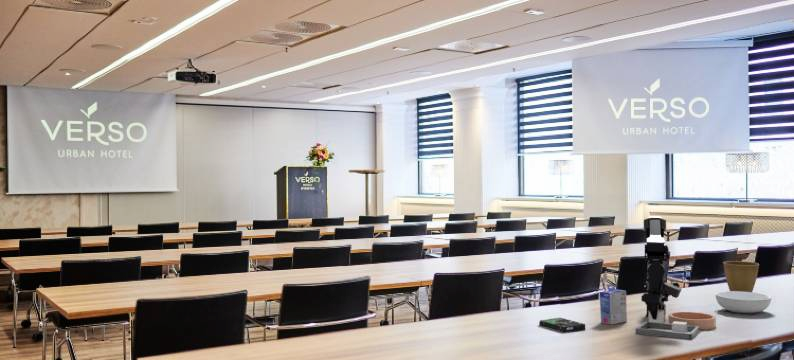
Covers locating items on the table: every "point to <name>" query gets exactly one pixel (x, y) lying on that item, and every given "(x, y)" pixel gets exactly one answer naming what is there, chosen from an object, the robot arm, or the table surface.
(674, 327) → the pale grey cubic block
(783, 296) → the table surface
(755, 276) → the plant pot
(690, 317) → the bowl
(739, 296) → the serving bowl
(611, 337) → the table surface
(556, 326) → the disk drive
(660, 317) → the white matte cube
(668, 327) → the parts tray
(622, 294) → the ink cartridge box
